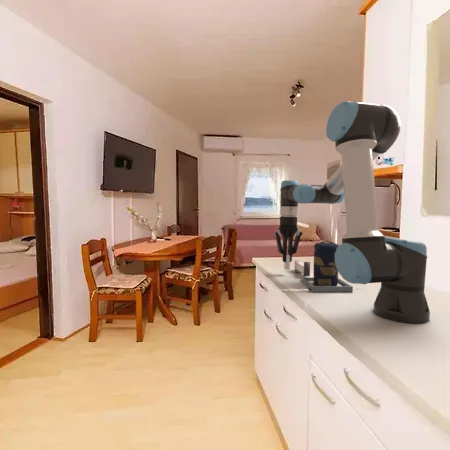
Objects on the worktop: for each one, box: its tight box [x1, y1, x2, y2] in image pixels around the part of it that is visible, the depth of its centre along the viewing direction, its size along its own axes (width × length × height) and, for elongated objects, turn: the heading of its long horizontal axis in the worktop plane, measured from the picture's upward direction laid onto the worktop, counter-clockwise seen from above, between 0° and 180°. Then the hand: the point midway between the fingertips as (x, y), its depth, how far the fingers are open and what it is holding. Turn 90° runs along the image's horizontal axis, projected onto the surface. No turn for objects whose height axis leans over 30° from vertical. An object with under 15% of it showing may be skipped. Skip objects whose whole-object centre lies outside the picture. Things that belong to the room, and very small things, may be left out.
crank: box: [293, 259, 311, 277], centre depth 148 cm, size 16×4×7 cm, turn 3°
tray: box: [300, 277, 354, 294], centre depth 131 cm, size 15×16×2 cm
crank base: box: [290, 269, 302, 274], centre depth 154 cm, size 6×6×1 cm
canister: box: [312, 240, 339, 286], centre depth 130 cm, size 10×10×18 cm
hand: (286, 269), depth 146 cm, fingers closed
